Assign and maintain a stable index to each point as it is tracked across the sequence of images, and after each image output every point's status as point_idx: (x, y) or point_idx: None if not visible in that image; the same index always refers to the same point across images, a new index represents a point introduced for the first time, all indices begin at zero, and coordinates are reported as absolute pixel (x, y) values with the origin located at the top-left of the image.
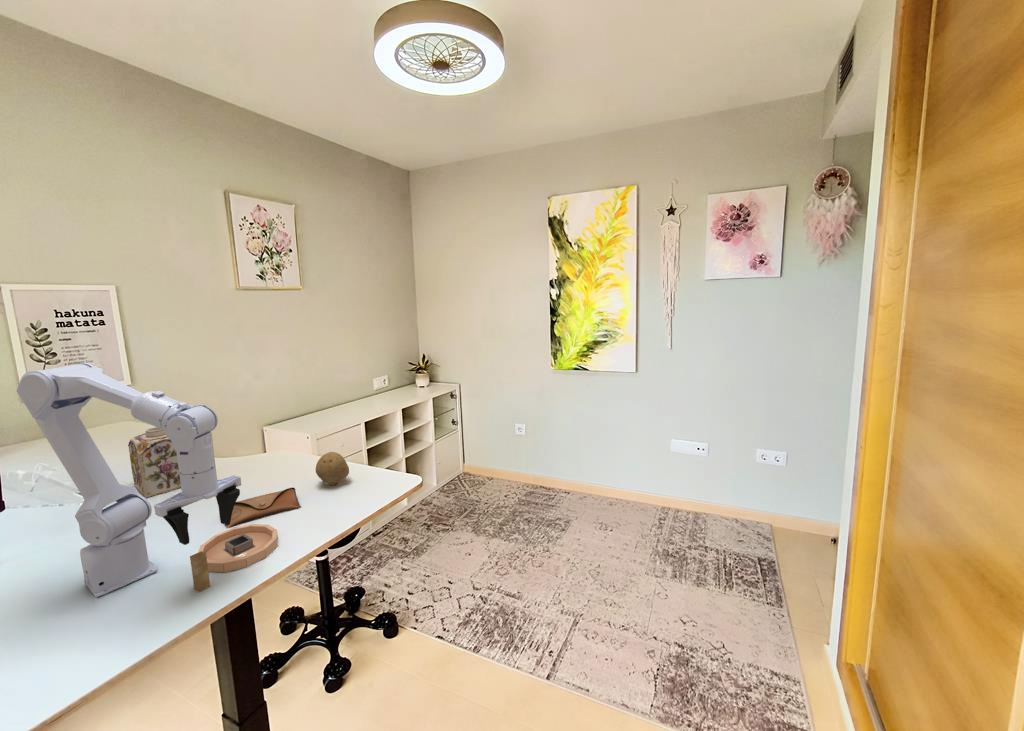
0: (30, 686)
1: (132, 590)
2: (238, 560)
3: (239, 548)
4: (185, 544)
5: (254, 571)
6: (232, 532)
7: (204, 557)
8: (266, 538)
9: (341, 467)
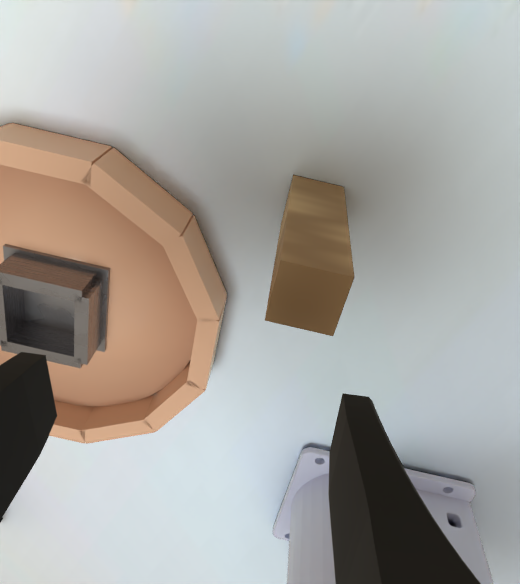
0: None
1: (410, 427)
2: (124, 186)
3: (65, 277)
4: (369, 400)
5: (112, 65)
6: None
7: (294, 254)
8: None
9: None
